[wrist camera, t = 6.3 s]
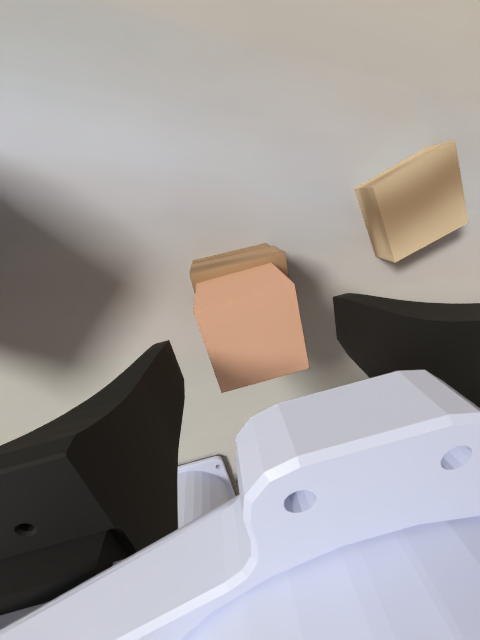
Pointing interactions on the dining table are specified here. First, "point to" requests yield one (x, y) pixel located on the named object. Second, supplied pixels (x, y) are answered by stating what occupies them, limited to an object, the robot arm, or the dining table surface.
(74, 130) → the dining table surface
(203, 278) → the tower top
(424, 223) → the slab
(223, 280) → the terracotta cube
